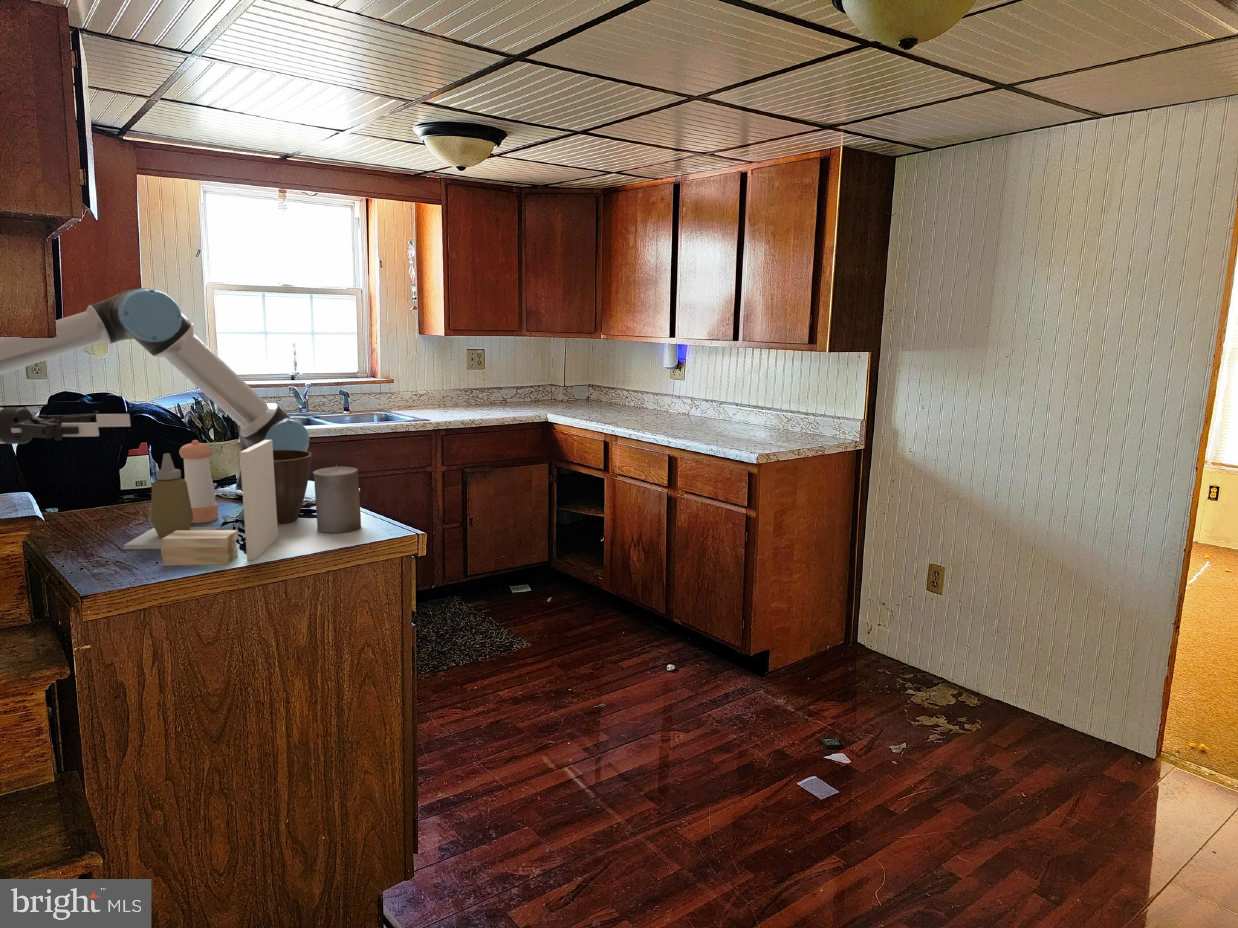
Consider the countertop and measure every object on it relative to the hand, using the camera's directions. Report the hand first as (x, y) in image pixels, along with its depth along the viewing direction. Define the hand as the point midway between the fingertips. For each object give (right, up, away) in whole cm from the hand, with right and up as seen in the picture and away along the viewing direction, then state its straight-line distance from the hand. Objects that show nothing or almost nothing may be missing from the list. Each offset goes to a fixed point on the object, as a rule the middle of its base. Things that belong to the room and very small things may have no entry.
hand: (114, 424), depth 171 cm
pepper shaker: (+6, -22, +23) cm, 33 cm away
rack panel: (+31, -26, +1) cm, 41 cm away
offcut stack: (+23, -28, -8) cm, 37 cm away
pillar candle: (+41, -23, +18) cm, 51 cm away
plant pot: (+25, -22, +24) cm, 41 cm away
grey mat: (+9, -25, +6) cm, 27 cm away
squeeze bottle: (+9, -24, +6) cm, 26 cm away
